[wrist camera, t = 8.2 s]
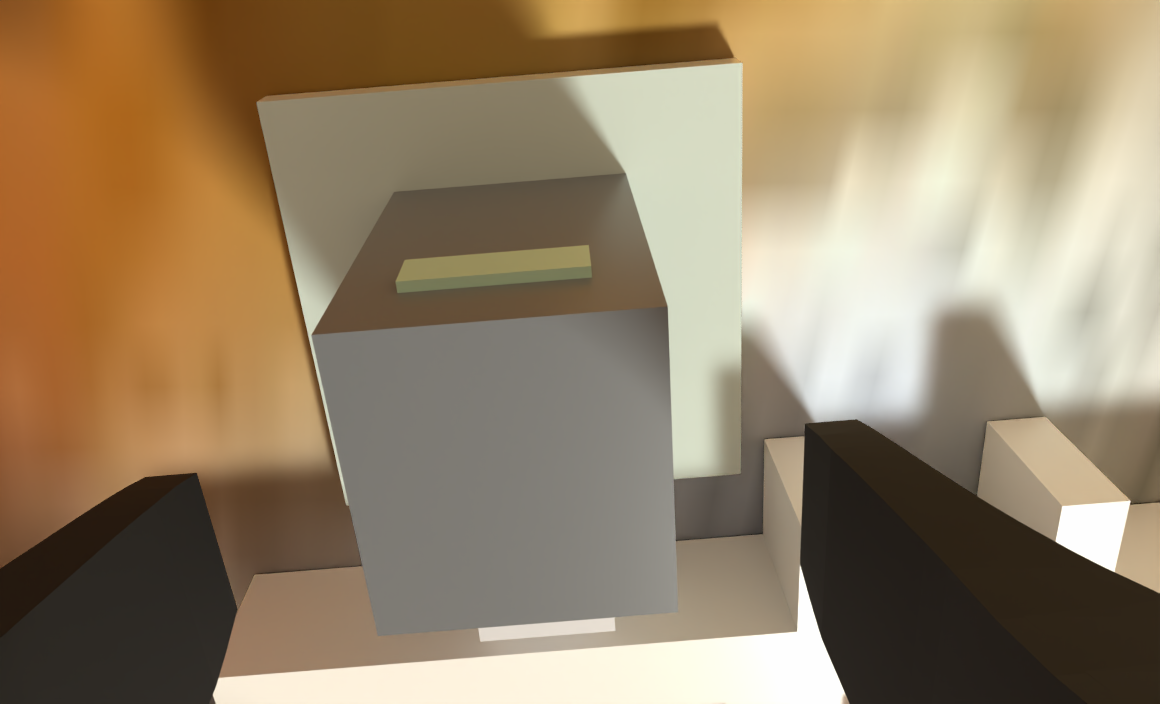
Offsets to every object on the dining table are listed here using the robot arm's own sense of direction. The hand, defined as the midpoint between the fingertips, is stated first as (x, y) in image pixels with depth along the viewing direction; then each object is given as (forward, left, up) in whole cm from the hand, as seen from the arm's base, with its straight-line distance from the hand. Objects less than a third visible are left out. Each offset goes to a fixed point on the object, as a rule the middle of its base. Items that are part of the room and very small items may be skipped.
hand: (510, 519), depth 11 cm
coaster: (0, 0, -7) cm, 7 cm away
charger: (-1, 0, -6) cm, 7 cm away
